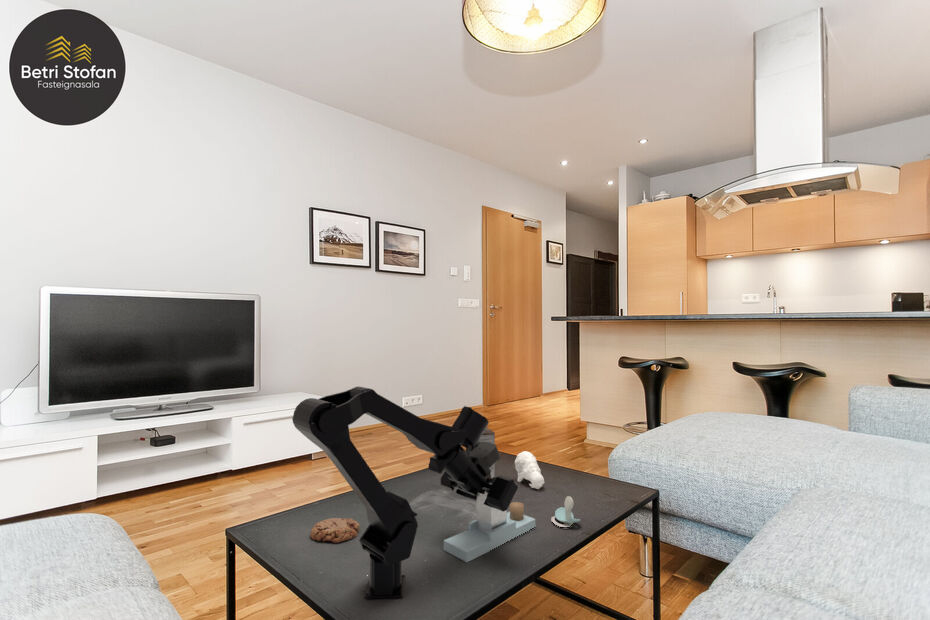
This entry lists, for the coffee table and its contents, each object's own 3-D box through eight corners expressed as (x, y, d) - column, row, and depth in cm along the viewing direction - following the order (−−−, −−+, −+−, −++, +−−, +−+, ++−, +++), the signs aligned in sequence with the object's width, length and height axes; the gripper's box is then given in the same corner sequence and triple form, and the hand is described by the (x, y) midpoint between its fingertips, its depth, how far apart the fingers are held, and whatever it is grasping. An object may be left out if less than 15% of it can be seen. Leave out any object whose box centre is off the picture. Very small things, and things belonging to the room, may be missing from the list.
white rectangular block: (491, 536, 99) (491, 488, 99) (476, 529, 102) (476, 483, 102) (509, 527, 103) (509, 482, 103) (495, 521, 106) (494, 477, 106)
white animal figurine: (532, 448, 142) (551, 463, 131) (531, 475, 143) (550, 492, 132) (513, 450, 140) (530, 465, 129) (512, 477, 141) (529, 495, 130)
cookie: (309, 530, 107) (309, 517, 107) (356, 522, 111) (356, 510, 111) (311, 549, 98) (311, 535, 98) (362, 541, 102) (362, 527, 102)
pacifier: (559, 532, 106) (583, 528, 107) (558, 504, 106) (582, 501, 107) (546, 519, 113) (568, 515, 114) (545, 493, 113) (567, 490, 114)
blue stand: (466, 562, 92) (466, 537, 92) (443, 549, 97) (443, 525, 97) (535, 527, 107) (535, 506, 107) (512, 518, 112) (512, 497, 112)
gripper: (511, 440, 93) (545, 482, 101) (449, 425, 107) (483, 463, 114) (484, 490, 88) (522, 530, 95) (423, 467, 101) (460, 504, 109)
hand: (495, 504), depth 103 cm, fingers closed on white rectangular block, 4 cm apart
